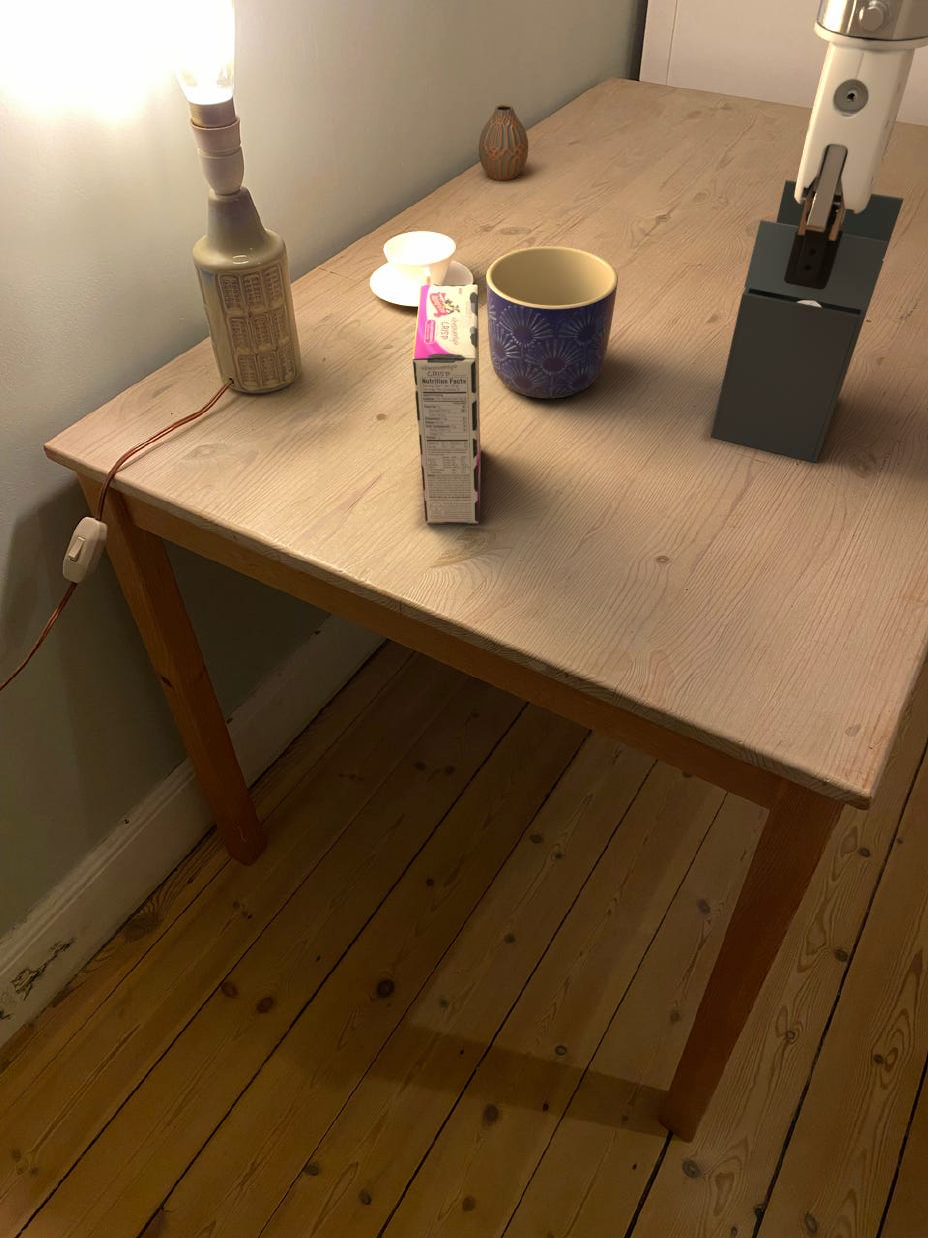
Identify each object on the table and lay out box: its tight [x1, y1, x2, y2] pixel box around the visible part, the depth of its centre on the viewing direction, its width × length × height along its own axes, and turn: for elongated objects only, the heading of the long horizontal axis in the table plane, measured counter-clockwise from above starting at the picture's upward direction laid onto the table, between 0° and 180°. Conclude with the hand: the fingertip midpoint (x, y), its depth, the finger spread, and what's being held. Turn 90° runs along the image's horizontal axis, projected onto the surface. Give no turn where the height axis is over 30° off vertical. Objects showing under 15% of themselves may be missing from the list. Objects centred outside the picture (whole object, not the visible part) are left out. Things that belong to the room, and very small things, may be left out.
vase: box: [478, 104, 529, 181], centre depth 126 cm, size 7×7×9 cm
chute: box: [710, 179, 905, 464], centre depth 81 cm, size 12×10×20 cm
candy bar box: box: [412, 284, 482, 525], centre depth 76 cm, size 11×5×16 cm, turn 179°
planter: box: [485, 245, 619, 399], centre depth 90 cm, size 12×12×11 cm
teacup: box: [369, 231, 474, 307], centre depth 105 cm, size 12×12×5 cm
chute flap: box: [743, 219, 890, 311], centre depth 72 cm, size 5×10×1 cm
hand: (805, 281), depth 71 cm, fingers closed
